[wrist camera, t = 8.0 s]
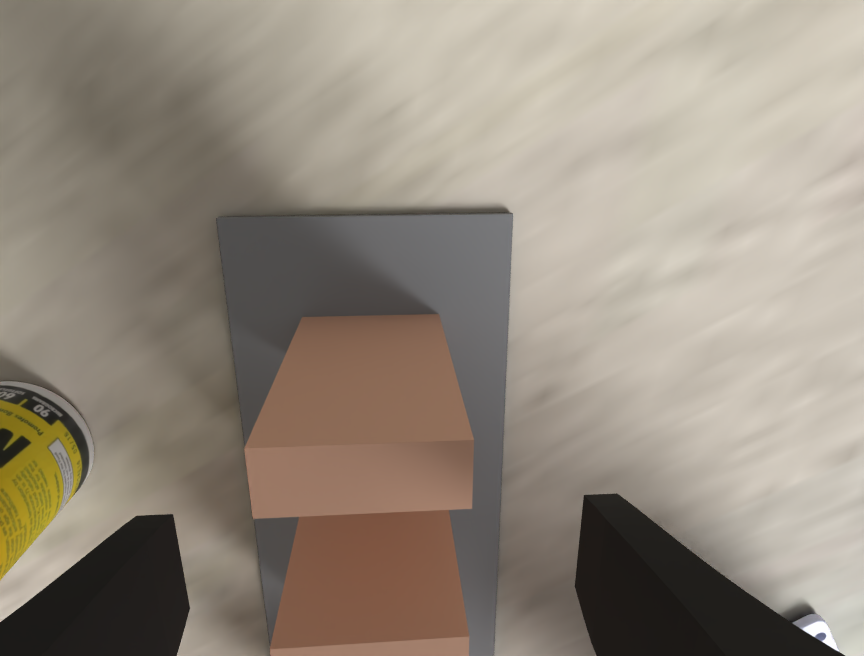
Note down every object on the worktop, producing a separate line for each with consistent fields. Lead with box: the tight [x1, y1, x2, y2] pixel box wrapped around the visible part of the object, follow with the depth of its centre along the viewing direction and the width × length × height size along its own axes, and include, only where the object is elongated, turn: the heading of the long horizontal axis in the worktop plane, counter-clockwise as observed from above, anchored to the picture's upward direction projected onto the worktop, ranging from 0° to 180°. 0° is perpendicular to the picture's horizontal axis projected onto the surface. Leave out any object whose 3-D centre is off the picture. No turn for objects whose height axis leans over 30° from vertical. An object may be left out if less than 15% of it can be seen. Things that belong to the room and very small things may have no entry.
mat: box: [216, 213, 513, 656], centre depth 22 cm, size 28×9×1 cm, turn 0°
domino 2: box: [270, 510, 469, 656], centre depth 17 cm, size 2×4×8 cm, turn 90°
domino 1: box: [244, 314, 474, 519], centre depth 15 cm, size 2×4×8 cm, turn 90°
